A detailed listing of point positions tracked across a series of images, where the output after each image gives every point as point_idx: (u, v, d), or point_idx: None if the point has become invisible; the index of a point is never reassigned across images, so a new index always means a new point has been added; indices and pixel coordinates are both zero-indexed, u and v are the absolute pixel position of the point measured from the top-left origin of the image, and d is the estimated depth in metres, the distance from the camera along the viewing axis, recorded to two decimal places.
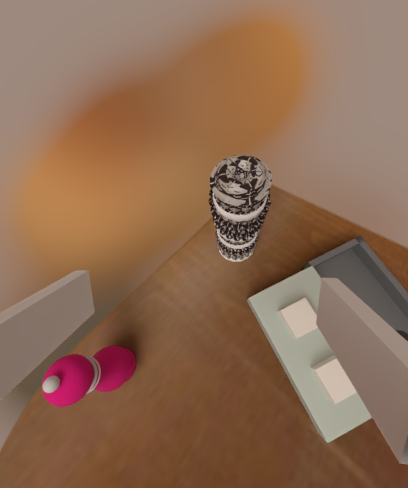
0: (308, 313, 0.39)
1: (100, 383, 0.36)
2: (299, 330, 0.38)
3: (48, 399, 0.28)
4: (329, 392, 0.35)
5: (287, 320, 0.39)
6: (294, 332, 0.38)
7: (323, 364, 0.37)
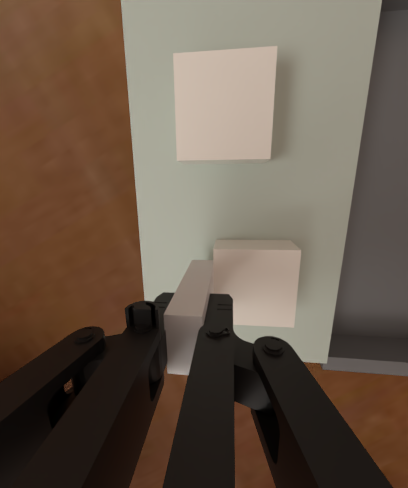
0: (252, 105, 0.12)
1: None
2: (196, 142, 0.12)
3: None
4: None
5: (178, 97, 0.12)
6: (179, 141, 0.12)
7: (242, 247, 0.14)
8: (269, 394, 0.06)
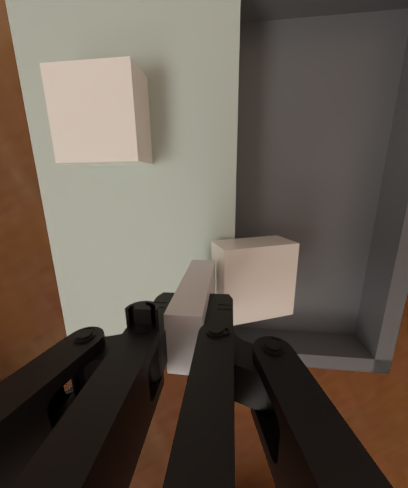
0: (115, 111, 0.12)
1: None
2: (71, 146, 0.13)
3: None
4: None
5: (49, 103, 0.13)
6: (56, 144, 0.13)
7: (248, 246, 0.14)
8: (269, 394, 0.06)
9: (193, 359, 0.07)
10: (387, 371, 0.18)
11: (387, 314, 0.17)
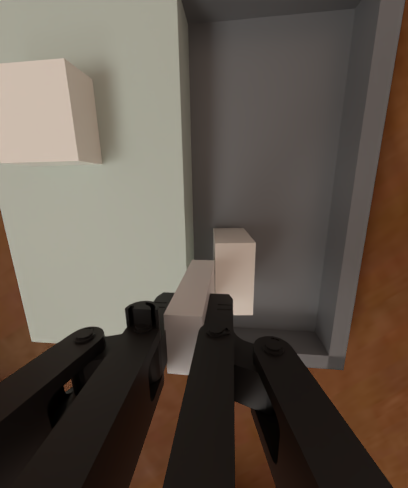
0: (54, 112, 0.13)
1: None
2: (13, 146, 0.13)
3: None
4: None
5: None
6: None
7: (244, 236, 0.16)
8: (269, 394, 0.06)
9: (193, 359, 0.07)
10: (341, 367, 0.18)
11: (338, 311, 0.17)
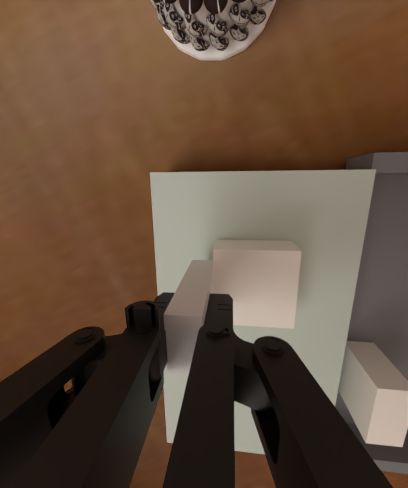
0: (279, 290, 0.14)
1: None
2: None
3: None
4: None
5: (216, 279, 0.14)
6: None
7: (393, 371, 0.17)
8: (269, 394, 0.06)
9: (193, 359, 0.07)
10: None
11: None
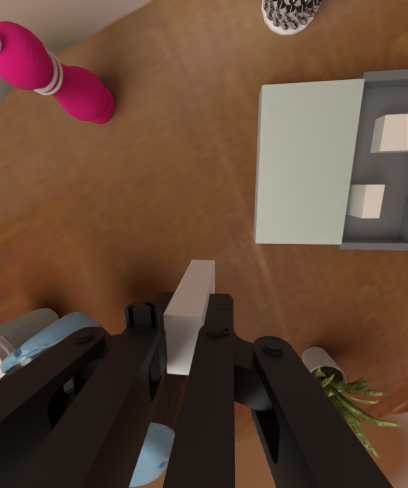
0: None
1: (65, 97, 0.32)
2: None
3: None
4: (380, 207, 0.35)
5: None
6: None
7: (374, 184, 0.36)
8: (269, 394, 0.06)
9: (193, 359, 0.07)
10: None
11: None
